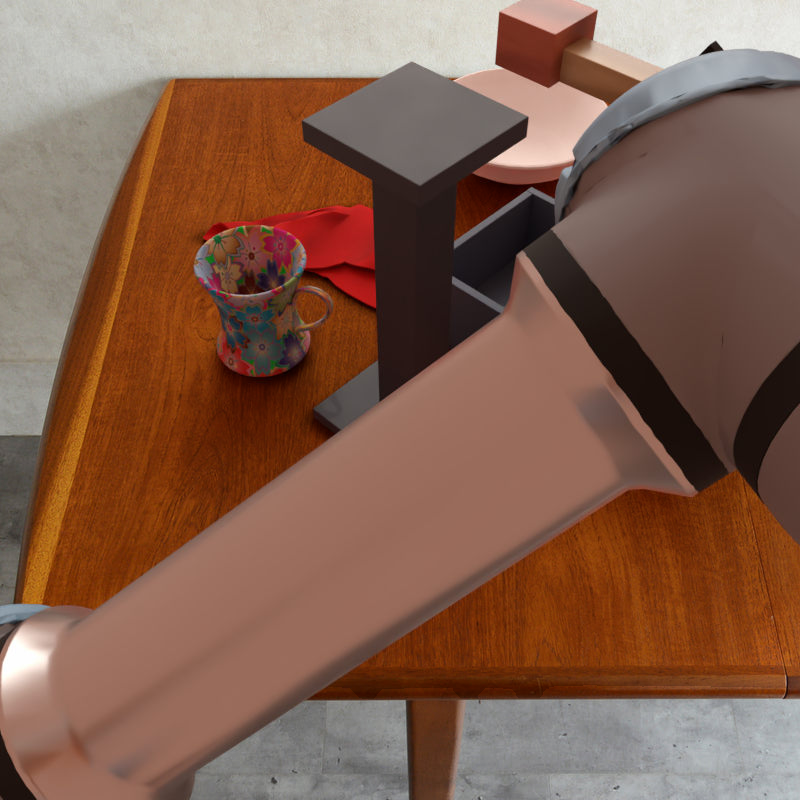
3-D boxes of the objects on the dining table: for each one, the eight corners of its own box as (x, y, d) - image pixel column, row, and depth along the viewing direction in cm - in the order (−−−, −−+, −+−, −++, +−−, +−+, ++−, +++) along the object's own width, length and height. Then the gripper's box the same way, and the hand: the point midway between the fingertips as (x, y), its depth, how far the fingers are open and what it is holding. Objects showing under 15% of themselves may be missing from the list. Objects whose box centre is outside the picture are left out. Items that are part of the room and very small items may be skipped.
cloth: (479, 246, 92) (481, 228, 90) (420, 330, 83) (420, 312, 82) (265, 178, 99) (262, 161, 98) (192, 249, 91) (188, 231, 90)
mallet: (764, 185, 56) (784, 129, 53) (494, 64, 66) (498, 11, 63) (802, 152, 59) (824, 96, 56) (536, 40, 69) (542, -12, 66)
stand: (415, 497, 71) (420, 201, 50) (313, 417, 77) (277, 120, 55) (511, 413, 77) (552, 115, 55) (409, 345, 82) (411, 50, 61)
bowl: (392, 150, 103) (392, 100, 98) (527, 99, 110) (533, 50, 105) (497, 241, 92) (503, 190, 87) (640, 178, 99) (652, 127, 94)
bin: (641, 474, 72) (662, 412, 67) (419, 328, 84) (420, 264, 78) (739, 372, 80) (766, 308, 74) (523, 250, 91) (531, 186, 85)
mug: (194, 369, 80) (171, 279, 72) (244, 304, 86) (228, 214, 78) (315, 407, 77) (304, 318, 69) (358, 337, 83) (353, 247, 75)
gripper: (816, 429, 57) (583, 147, 58) (917, 308, 65) (710, 58, 65) (917, 392, 51) (654, 73, 51) (1017, 261, 58) (786, -16, 59)
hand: (686, 65), depth 58 cm, fingers closed on mallet, 2 cm apart
